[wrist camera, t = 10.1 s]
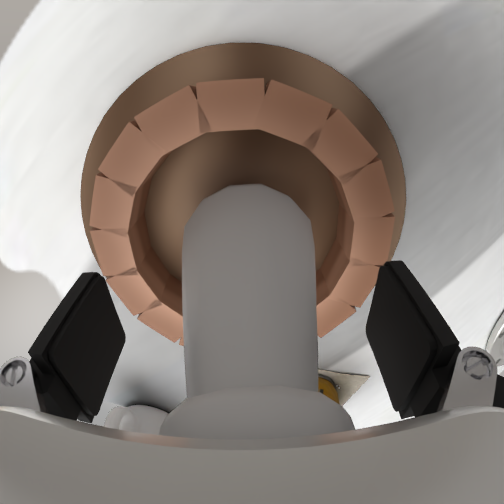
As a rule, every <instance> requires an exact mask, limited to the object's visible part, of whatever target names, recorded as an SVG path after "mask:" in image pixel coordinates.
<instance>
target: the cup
mask: <svg viewBox="0 0 504 504" xmlns="http://www.w3.org/2000/svg"><path fill="white" fill-rule="evenodd" d="M167 415H168V413H167V412H165V411H163V410H160V409H158V408H154V407H151V406H146V405H132V406H129V407H122V406H117V407H114V408H113V409H111V411H110V412H109V414H108V415H107V418H106V420H105V423H104V427H108V428H113V429H119V430H125V431H131V432H138V433H146V434H154V435H159V432H160V427H161V425H162V423H163V422H164V420H165V418H166V417H167Z"/></svg>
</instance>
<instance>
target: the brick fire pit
mask: <svg viewBox="0 0 504 504" xmlns="http://www.w3.org/2000/svg"><path fill="white" fill-rule="evenodd" d="M243 184H263V185H265V186H268V187H270V188H272V189H275V190H277V191H279V192H281V193H284V194H286V195H288V196H289V197H290V198H291V199H292V200H293V201H294V202H295V203H296V204H297V205H298V207H299V208H300V209H301V210H302V211H303V212H304V213H305V215H306V216H307V217H308V218H309V219H310V220H311V227H312V233H313V239H314V245H315V268H316V311H317V335H318V336H319V337H320V338H321V337H323V336H324V335H326V334H327V333H328V332H330V331H331V330H332V329H334V328H335V327H336V326H338V325H339V324H340V323H342V322H343V321H344V320H346V319H347V318H348V317H350V316H351V315H352V314H354V313H355V312H356V309H355V306H356V307H361V305H362V304H363V302H364V301H365V299H366V298H367V296H368V295H369V293H370V292H371V290H372V289H373V288H374V286H375V285H376V281H377V277H378V272H379V268H380V267H381V266H384V263H385V262H386V261H391V259H392V257H393V255H394V252H395V250H396V247H397V244H398V242H399V239H400V235H401V231H402V227H403V223H404V216H405V206H406V187H405V176H404V171H403V166H402V161H401V157H400V154H399V151H398V148H397V145H396V143H395V140H394V137H393V135H392V133H391V132H390V130H389V128H388V126H387V124H386V122H385V120H384V118H383V117H382V116H381V114H380V113H379V111H378V110H377V109H376V107H375V106H374V105H373V103H372V102H371V101H370V99H369V98H368V97H367V96H366V95H365V94H364V93H363V92H362V91H361V90H360V89H359V88H358V87H357V86H356V85H355V84H354V83H352V82H351V81H350V80H349V79H347V78H346V77H345V76H343V75H342V74H340V73H339V72H338V71H336V70H335V69H333V68H332V67H330V66H328V65H326V64H324V63H323V62H321V61H319V60H317V59H315V58H313V57H311V56H309V55H306V54H303V53H300V52H297V51H294V50H291V49H288V48H284V47H279V46H273V45H267V44H261V43H225V44H218V45H212V46H206V47H202V48H198V49H195V50H192V51H189V52H186V53H182V54H180V55H177V56H175V57H173V58H171V59H169V60H167V61H165V62H163V63H161V64H159V65H157V66H156V67H154V68H153V69H151V70H150V71H148V72H147V73H145V74H144V75H143V76H141V77H140V78H138V79H137V80H136V81H135V82H134V83H133V84H131V85H130V86H129V87H128V88H127V89H126V90H125V91H124V92H123V93H122V94H121V95H120V96H119V97H118V98H117V100H116V101H115V102H114V104H113V105H112V106H111V107H110V109H109V110H108V111H107V113H106V114H105V116H104V117H103V119H102V121H101V123H100V124H99V126H98V128H97V130H96V132H95V134H94V136H93V138H92V141H91V144H90V146H89V149H88V152H87V154H86V159H85V163H84V168H83V173H82V181H81V210H82V218H83V223H84V228H85V232H86V236H87V239H88V242H89V245H90V247H91V250H92V253H93V255H94V257H95V259H96V261H97V263H98V265H99V267H100V269H101V270H102V273H103V276H106V278H107V279H106V281H107V283H108V284H109V285H110V287H111V288H112V289H113V291H114V292H115V293H116V294H117V296H118V297H119V298H120V299H121V301H122V302H123V303H124V304H125V306H126V307H127V308H128V309H129V311H130V312H131V313H132V314H133V316H134V315H137V314H139V313H140V314H139V316H138V320H140V321H141V322H143V323H144V324H146V325H147V326H149V327H150V328H152V329H153V330H155V331H157V332H158V333H160V334H161V335H163V336H165V337H166V338H168V339H169V340H171V341H173V342H174V343H175V342H176V341H177V340H178V339H179V338H180V337H181V339H180V343H179V345H182V346H184V338H183V309H182V247H183V236H184V226H185V225H186V223H187V222H188V220H189V219H190V218H191V216H192V215H193V213H194V212H195V210H196V209H197V207H198V206H199V204H200V203H201V202H202V200H203V199H205V198H207V197H208V196H210V195H212V194H214V193H216V192H218V191H220V190H222V189H224V188H225V187H227V186H229V185H243Z"/></svg>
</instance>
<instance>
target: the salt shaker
mask: <svg viewBox="0 0 504 504" xmlns="http://www.w3.org/2000/svg"><path fill="white" fill-rule="evenodd" d="M182 309H183V338H184V359H185V375H186V390H187V399H185V400H184V401H183V402H182V403H181V404H180V405H178V406H177V407H176V408H175V409H174V410H173V411H171V412H170V413H169V414H168V415H167V417H166V418H165V420H164V422H163V423H162V425H161V427H160V432H159V435H163V436H173V437H185V438H200V439H274V438H291V437H303V436H313V435H322V434H330V433H337V432H344V431H351V430H355V427H354V425H353V422H352V419H351V417H350V415H349V414H348V413H347V412H346V410H345V409H344V408H343V407H342V406H341V405H339V404H338V403H336V402H335V401H333V400H331V399H330V398H328V397H327V396H325V395H324V394H322V393H320V392H318V338H317V311H316V268H315V245H314V239H313V233H312V227H311V220H310V219H309V218H308V217H307V216H306V215H305V213H304V212H303V211H302V210H301V209H300V208H299V207H298V205H297V204H296V203H295V202H294V201H293V200H292V199H291V198H290V197H289V196H288V195H286V194H284V193H281V192H279V191H277V190H275V189H272V188H270V187H268V186H265V185H263V184H243V185H229V186H227V187H225V188H224V189H222V190H220V191H218V192H216V193H214V194H212V195H210V196H208V197H207V198H205V199H203V200H202V202H201V203H200V204H199V206H198V207H197V209H196V210H195V212H194V213H193V215H192V216H191V218H190V219H189V220H188V222H187V223H186V225H185V226H184V236H183V247H182Z"/></svg>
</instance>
